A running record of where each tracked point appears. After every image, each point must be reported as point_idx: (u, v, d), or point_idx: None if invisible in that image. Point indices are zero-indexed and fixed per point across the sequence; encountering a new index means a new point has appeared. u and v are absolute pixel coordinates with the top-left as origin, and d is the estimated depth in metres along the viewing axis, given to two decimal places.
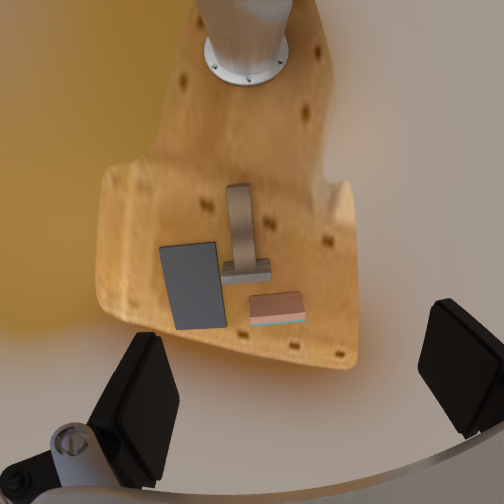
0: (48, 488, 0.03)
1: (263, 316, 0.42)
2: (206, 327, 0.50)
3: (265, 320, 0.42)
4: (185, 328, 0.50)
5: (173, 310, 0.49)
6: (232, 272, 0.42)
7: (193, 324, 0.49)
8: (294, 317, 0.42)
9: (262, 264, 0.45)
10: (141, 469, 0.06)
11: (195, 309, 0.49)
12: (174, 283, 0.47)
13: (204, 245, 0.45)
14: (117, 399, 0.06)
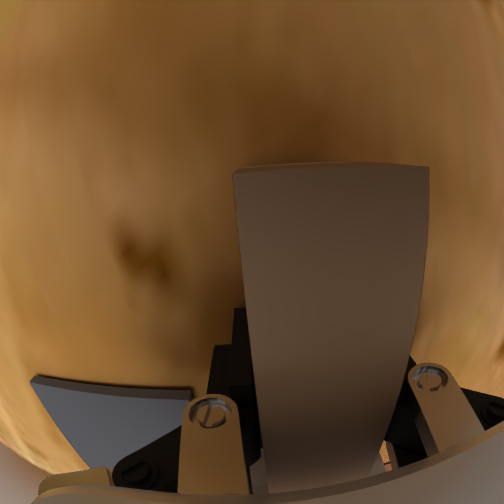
0: None
1: None
2: None
3: None
4: None
5: None
6: None
7: None
8: None
9: None
10: (258, 436, 0.07)
11: None
12: (95, 457, 0.13)
13: (152, 403, 0.11)
14: (248, 364, 0.07)
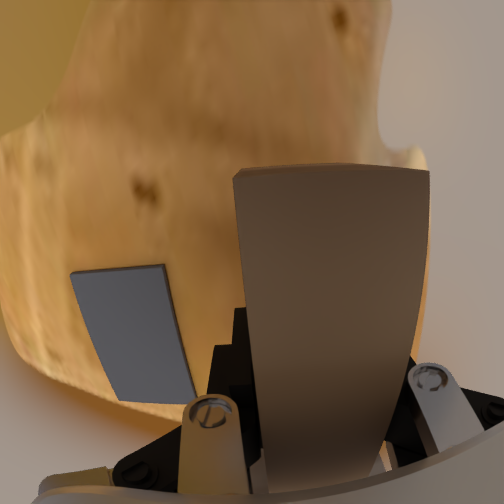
0: None
1: None
2: (165, 402, 0.27)
3: None
4: (132, 400, 0.27)
5: (109, 374, 0.26)
6: None
7: (143, 396, 0.26)
8: None
9: None
10: (258, 436, 0.07)
11: (142, 376, 0.26)
12: (102, 335, 0.24)
13: (143, 272, 0.22)
14: (248, 365, 0.07)
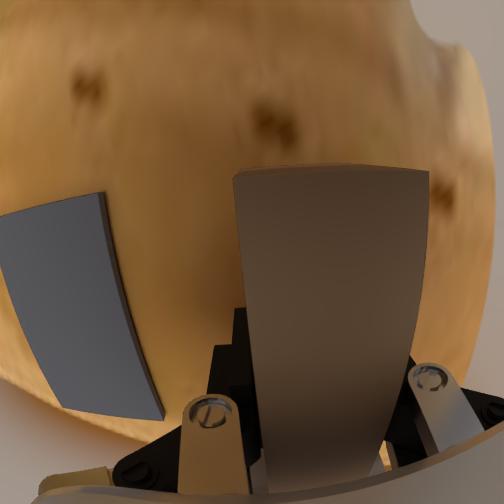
0: None
1: None
2: (119, 415, 0.17)
3: None
4: (77, 408, 0.17)
5: (44, 370, 0.16)
6: None
7: (90, 404, 0.17)
8: None
9: None
10: (258, 436, 0.07)
11: (84, 376, 0.16)
12: (28, 310, 0.14)
13: (72, 204, 0.13)
14: (248, 365, 0.07)
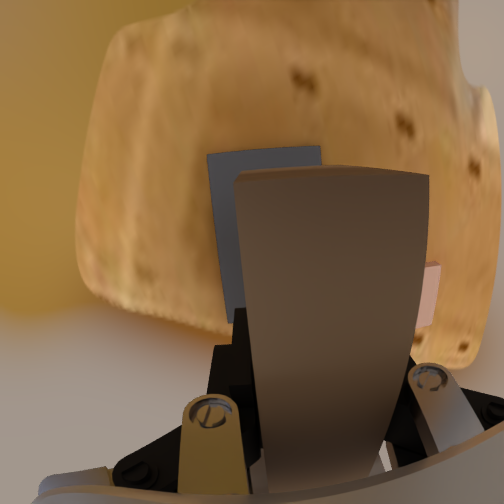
0: None
1: None
2: None
3: None
4: None
5: (226, 284, 0.26)
6: None
7: None
8: None
9: None
10: (258, 436, 0.07)
11: None
12: (233, 227, 0.24)
13: (300, 150, 0.22)
14: (248, 365, 0.07)
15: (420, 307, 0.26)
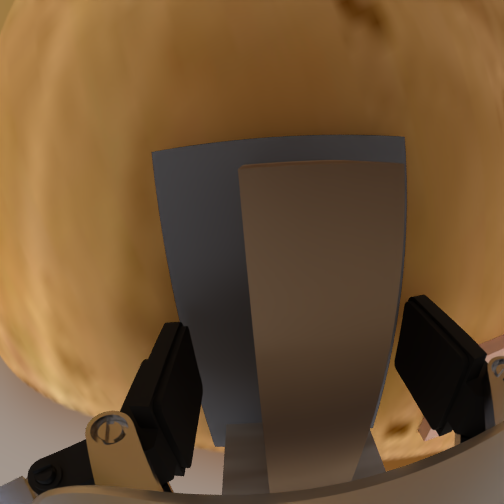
0: (83, 480, 0.04)
1: None
2: None
3: None
4: None
5: (208, 402, 0.13)
6: None
7: None
8: None
9: None
10: (173, 456, 0.06)
11: None
12: (216, 312, 0.11)
13: (365, 143, 0.09)
14: (154, 385, 0.06)
15: None
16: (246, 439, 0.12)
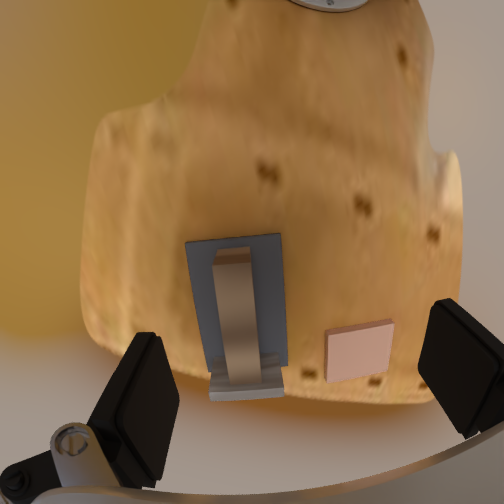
0: (48, 488, 0.03)
1: (341, 380, 0.32)
2: None
3: None
4: None
5: (205, 344, 0.31)
6: (226, 383, 0.26)
7: None
8: None
9: (270, 365, 0.29)
10: (141, 469, 0.06)
11: None
12: (209, 301, 0.29)
13: (263, 239, 0.28)
14: (117, 399, 0.06)
15: (375, 357, 0.31)
16: (222, 362, 0.30)
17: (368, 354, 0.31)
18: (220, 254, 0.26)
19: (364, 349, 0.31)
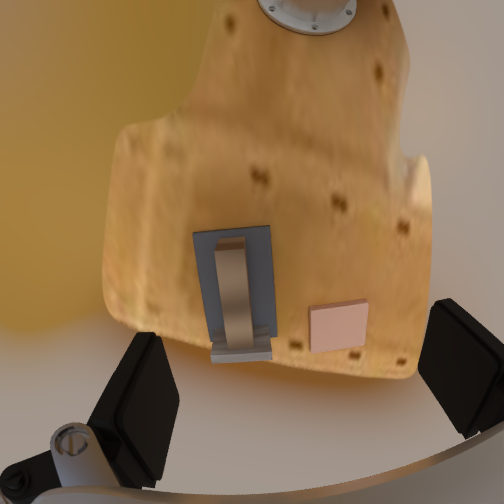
0: (48, 488, 0.03)
1: (324, 351, 0.39)
2: None
3: None
4: None
5: (208, 317, 0.38)
6: (224, 348, 0.34)
7: None
8: None
9: (261, 334, 0.36)
10: (141, 469, 0.06)
11: None
12: (212, 281, 0.36)
13: (255, 230, 0.34)
14: (117, 399, 0.06)
15: (352, 332, 0.38)
16: (222, 332, 0.37)
17: (346, 329, 0.38)
18: (221, 242, 0.33)
19: (342, 324, 0.38)
